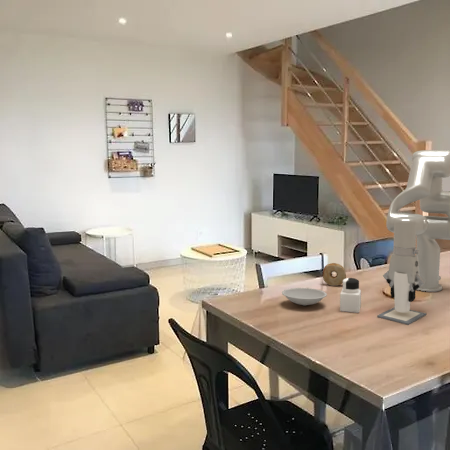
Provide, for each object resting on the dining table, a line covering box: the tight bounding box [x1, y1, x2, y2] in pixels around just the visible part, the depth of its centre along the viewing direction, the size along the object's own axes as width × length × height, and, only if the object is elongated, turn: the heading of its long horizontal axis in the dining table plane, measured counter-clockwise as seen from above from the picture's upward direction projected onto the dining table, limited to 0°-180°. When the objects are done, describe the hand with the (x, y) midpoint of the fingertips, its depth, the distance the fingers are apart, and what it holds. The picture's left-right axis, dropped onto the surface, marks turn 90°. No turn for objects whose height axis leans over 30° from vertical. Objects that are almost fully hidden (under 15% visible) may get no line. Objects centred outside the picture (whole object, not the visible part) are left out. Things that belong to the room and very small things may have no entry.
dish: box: [281, 287, 328, 307], centre depth 204 cm, size 18×14×5 cm
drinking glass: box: [393, 272, 413, 313], centre depth 188 cm, size 7×7×15 cm
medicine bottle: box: [339, 277, 362, 314], centre depth 197 cm, size 7×7×12 cm
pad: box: [376, 306, 427, 326], centre depth 189 cm, size 14×12×1 cm
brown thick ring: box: [322, 262, 347, 287], centre depth 229 cm, size 10×4×10 cm, turn 68°
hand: (402, 298), depth 189 cm, fingers closed on drinking glass, 6 cm apart
